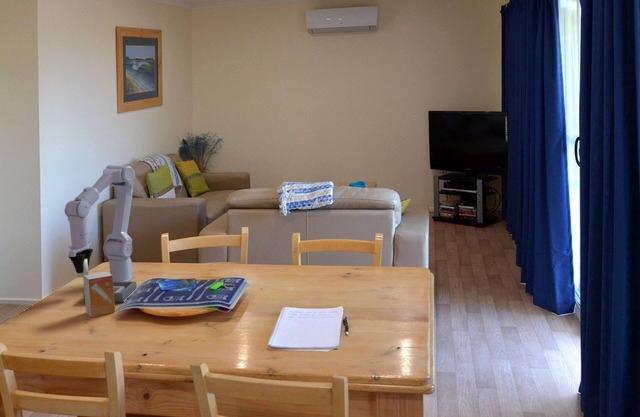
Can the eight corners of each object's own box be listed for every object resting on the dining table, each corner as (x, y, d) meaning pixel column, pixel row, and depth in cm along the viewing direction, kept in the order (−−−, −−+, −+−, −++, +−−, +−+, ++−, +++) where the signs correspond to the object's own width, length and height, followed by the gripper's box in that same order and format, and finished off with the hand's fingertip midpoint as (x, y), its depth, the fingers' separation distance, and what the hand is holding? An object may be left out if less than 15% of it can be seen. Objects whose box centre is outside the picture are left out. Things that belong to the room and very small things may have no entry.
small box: (91, 317, 235) (88, 279, 233) (85, 312, 241) (82, 275, 238) (116, 312, 240) (112, 274, 237) (109, 307, 245) (106, 270, 243)
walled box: (99, 290, 265) (98, 281, 264) (136, 290, 263) (136, 281, 263) (84, 302, 251) (83, 293, 250) (123, 303, 250) (122, 293, 249)
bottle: (79, 274, 261) (78, 254, 259) (90, 274, 260) (88, 254, 259) (75, 277, 257) (73, 257, 255) (85, 277, 256) (84, 257, 255)
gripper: (77, 229, 263) (80, 265, 266) (59, 239, 249) (62, 276, 251) (95, 229, 262) (98, 265, 265) (78, 238, 248) (82, 277, 251)
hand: (82, 271), depth 258 cm, fingers closed on bottle, 4 cm apart
